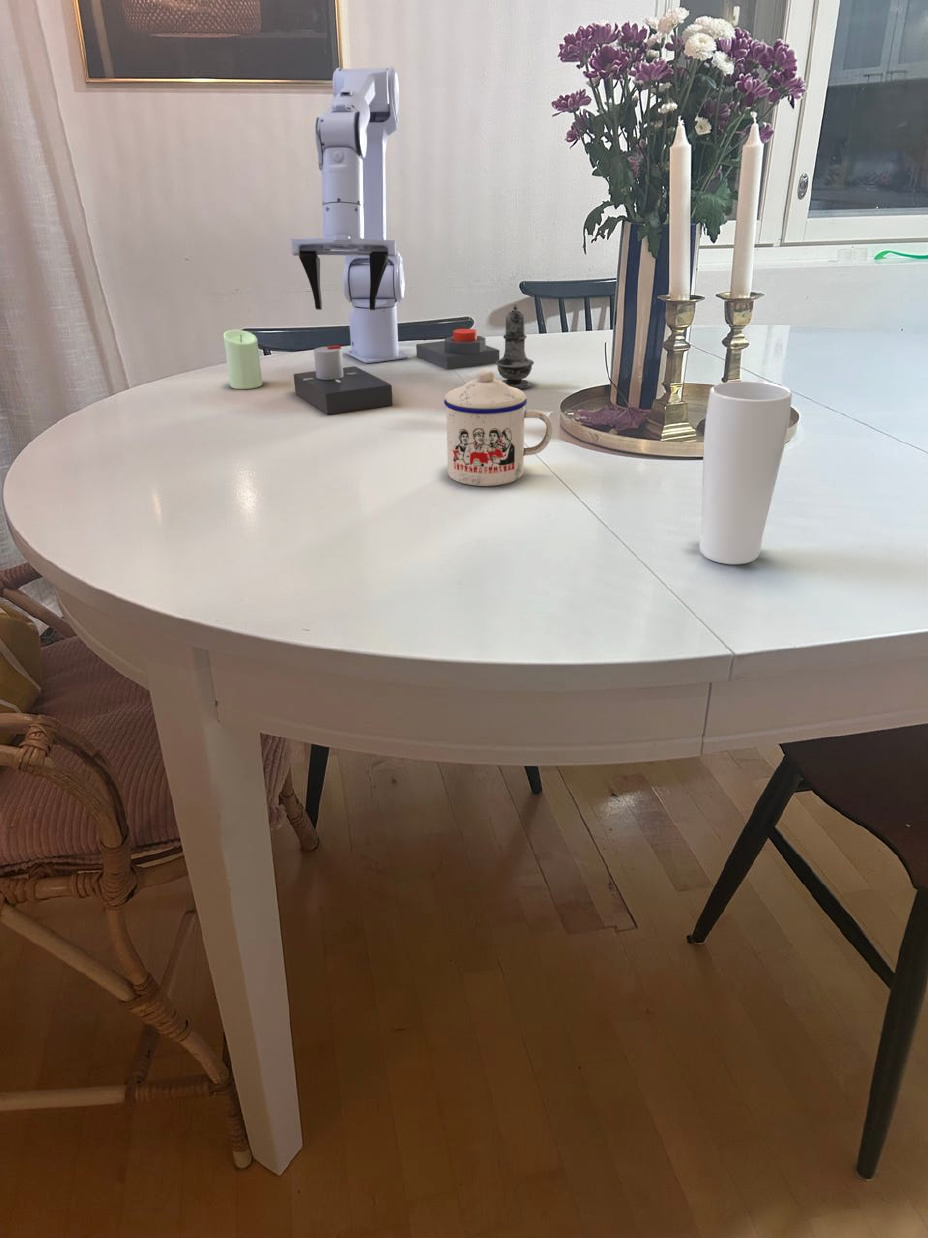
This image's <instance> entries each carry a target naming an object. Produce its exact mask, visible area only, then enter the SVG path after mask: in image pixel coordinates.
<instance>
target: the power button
mask: <svg viewBox="0 0 928 1238" xmlns="http://www.w3.org/2000/svg"><path fill="white" fill-rule="evenodd" d="M452 336H453V341H458V342H471V341H477V336H478V330H477V329H474V328H458V329H454V330H453V331H452Z"/></svg>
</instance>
